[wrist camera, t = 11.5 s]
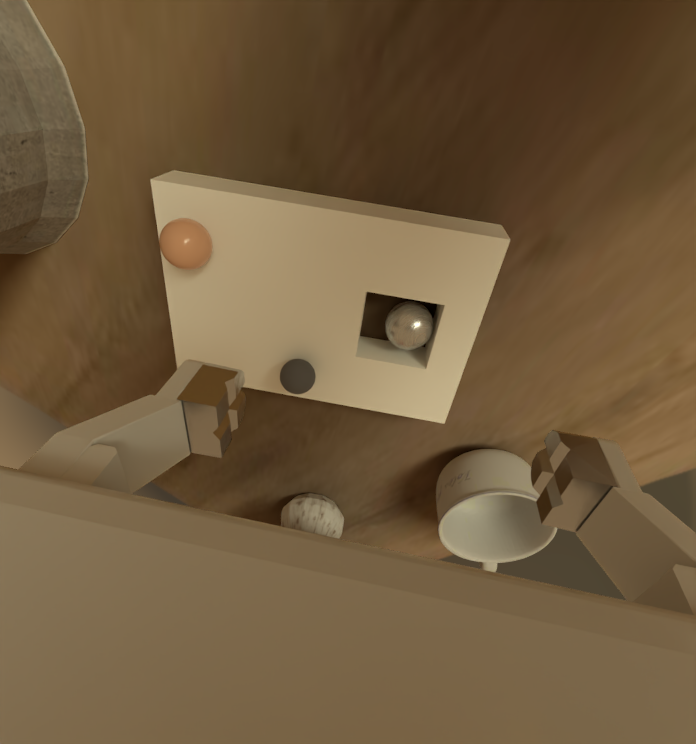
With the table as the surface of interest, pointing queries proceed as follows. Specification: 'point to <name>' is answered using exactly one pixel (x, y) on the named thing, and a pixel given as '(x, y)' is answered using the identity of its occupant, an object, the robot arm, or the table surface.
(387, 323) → the steel ball
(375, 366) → the white slab
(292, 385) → the black rubber ball
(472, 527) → the teacup
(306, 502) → the decorative mushroom
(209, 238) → the terracotta ball
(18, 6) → the pitcher
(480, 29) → the table surface
